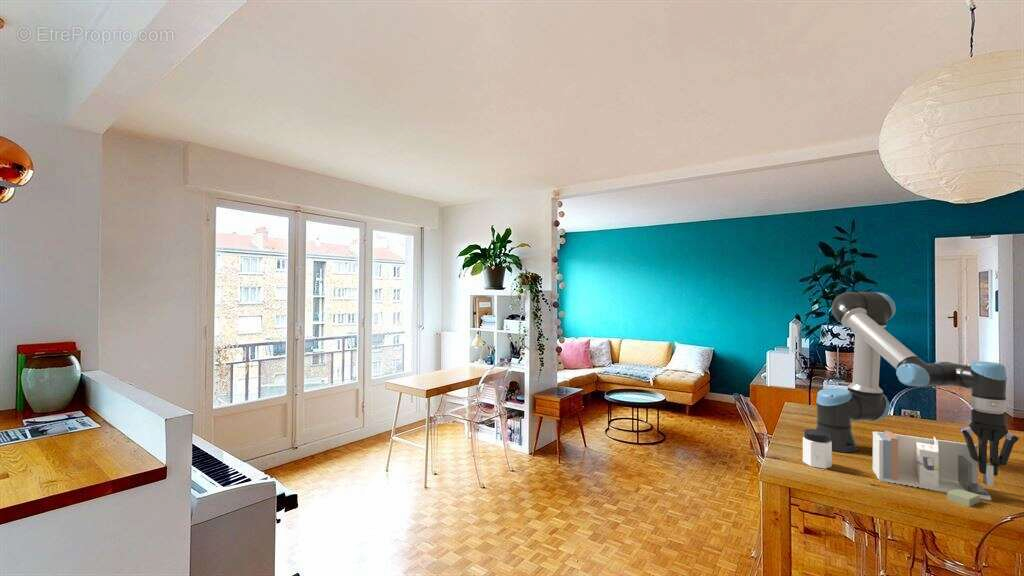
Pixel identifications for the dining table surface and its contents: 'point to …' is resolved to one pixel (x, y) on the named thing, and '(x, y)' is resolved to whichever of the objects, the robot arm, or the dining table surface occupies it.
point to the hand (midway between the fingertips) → (988, 484)
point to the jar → (817, 448)
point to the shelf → (899, 461)
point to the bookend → (968, 477)
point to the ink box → (927, 463)
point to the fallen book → (963, 497)
